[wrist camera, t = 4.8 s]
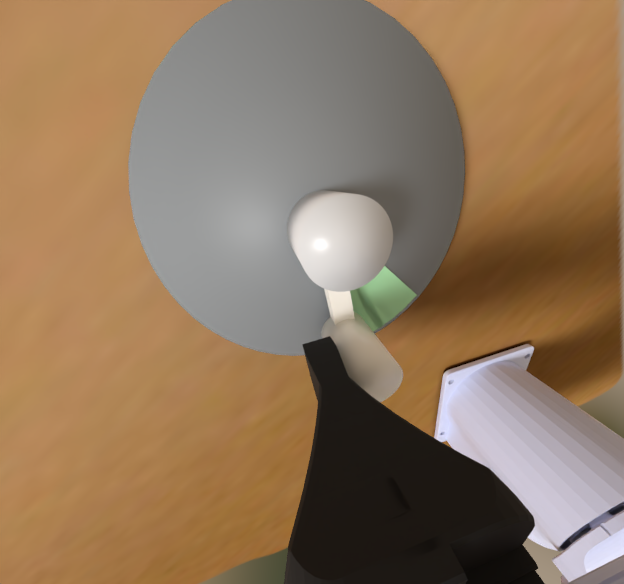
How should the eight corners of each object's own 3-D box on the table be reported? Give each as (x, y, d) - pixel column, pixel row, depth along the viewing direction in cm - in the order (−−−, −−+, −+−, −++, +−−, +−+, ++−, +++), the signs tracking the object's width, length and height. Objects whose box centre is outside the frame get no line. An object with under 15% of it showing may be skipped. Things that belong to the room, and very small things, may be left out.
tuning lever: (277, 201, 9) (290, 213, 5) (350, 181, 9) (404, 181, 6) (321, 355, 13) (344, 415, 9) (371, 338, 13) (410, 391, 10)
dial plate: (436, 308, 15) (448, 317, 14) (219, 372, 13) (217, 387, 12) (467, -13, 8) (495, -38, 7) (44, 34, 7) (9, 9, 6)
